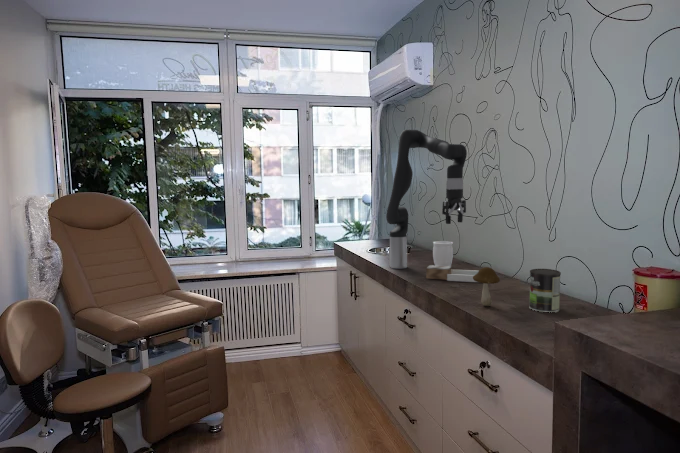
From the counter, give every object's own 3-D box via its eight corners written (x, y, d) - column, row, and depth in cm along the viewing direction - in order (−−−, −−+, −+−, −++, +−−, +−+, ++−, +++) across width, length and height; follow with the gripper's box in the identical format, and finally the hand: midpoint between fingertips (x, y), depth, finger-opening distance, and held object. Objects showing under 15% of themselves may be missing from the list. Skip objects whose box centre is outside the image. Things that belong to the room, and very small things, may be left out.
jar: (453, 272, 235) (453, 243, 233) (432, 271, 237) (432, 243, 235) (452, 268, 245) (452, 240, 244) (432, 267, 247) (432, 240, 246)
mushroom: (488, 300, 180) (488, 263, 178) (505, 308, 169) (505, 269, 167) (467, 302, 178) (467, 265, 176) (482, 311, 167) (483, 270, 165)
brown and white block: (426, 278, 222) (426, 267, 222) (429, 275, 229) (429, 265, 228) (449, 280, 218) (449, 268, 218) (451, 277, 225) (451, 266, 224)
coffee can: (538, 313, 162) (538, 274, 161) (524, 305, 172) (524, 269, 171) (565, 312, 163) (566, 273, 161) (550, 304, 173) (551, 268, 172)
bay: (447, 280, 216) (447, 274, 216) (449, 275, 228) (449, 269, 228) (480, 282, 211) (480, 275, 211) (481, 276, 223) (481, 270, 223)
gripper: (457, 187, 217) (457, 221, 219) (438, 188, 208) (437, 223, 210) (470, 187, 211) (470, 222, 213) (451, 188, 202) (450, 225, 204)
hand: (454, 223), depth 212 cm, fingers open, 8 cm apart
